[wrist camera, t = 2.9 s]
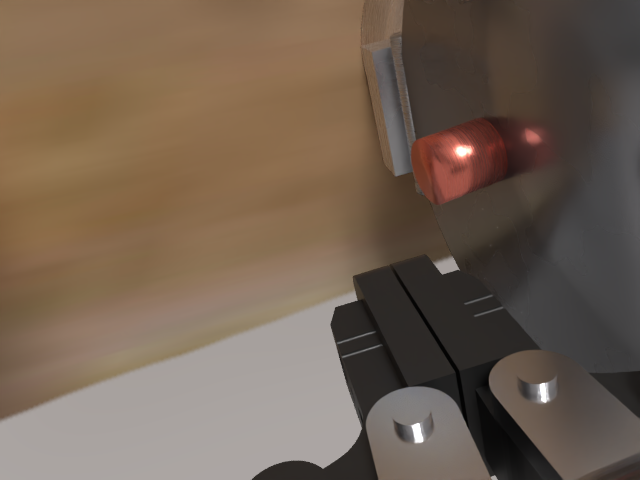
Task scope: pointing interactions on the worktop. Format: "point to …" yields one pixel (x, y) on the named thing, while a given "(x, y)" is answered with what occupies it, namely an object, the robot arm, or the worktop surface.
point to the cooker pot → (385, 80)
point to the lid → (534, 159)
